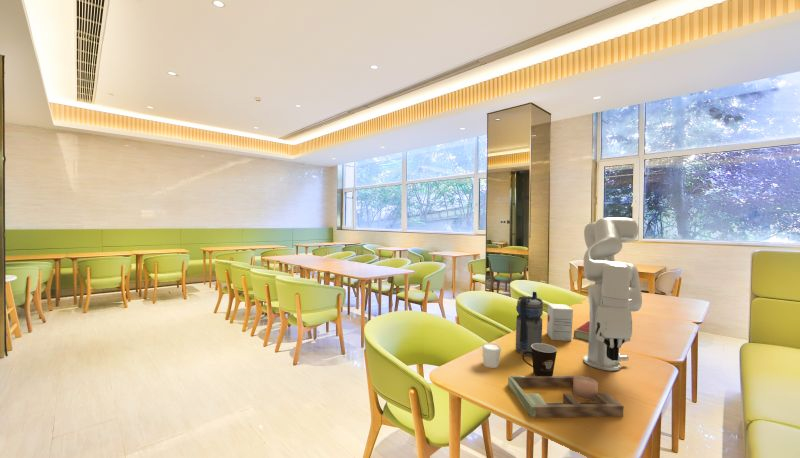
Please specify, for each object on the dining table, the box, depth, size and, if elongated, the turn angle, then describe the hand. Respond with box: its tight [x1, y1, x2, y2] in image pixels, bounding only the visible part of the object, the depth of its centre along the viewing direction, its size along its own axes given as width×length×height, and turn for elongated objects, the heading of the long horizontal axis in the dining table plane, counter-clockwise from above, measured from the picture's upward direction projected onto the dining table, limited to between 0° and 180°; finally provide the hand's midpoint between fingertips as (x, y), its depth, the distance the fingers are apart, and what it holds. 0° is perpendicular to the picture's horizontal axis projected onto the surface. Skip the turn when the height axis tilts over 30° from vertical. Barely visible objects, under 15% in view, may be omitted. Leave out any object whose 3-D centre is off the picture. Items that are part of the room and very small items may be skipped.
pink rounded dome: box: [572, 375, 599, 401], centre depth 111 cm, size 7×7×4 cm
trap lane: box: [507, 374, 625, 418], centre depth 108 cm, size 27×18×3 cm
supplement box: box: [546, 303, 574, 342], centre depth 163 cm, size 9×9×15 cm
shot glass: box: [481, 343, 502, 369], centre depth 132 cm, size 7×7×7 cm
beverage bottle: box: [515, 291, 544, 357], centre depth 143 cm, size 10×13×25 cm
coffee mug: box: [521, 343, 558, 376], centre depth 124 cm, size 12×9×10 cm
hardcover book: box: [573, 320, 590, 342], centre depth 167 cm, size 12×21×4 cm, turn 135°
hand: (612, 358), depth 110 cm, fingers closed
